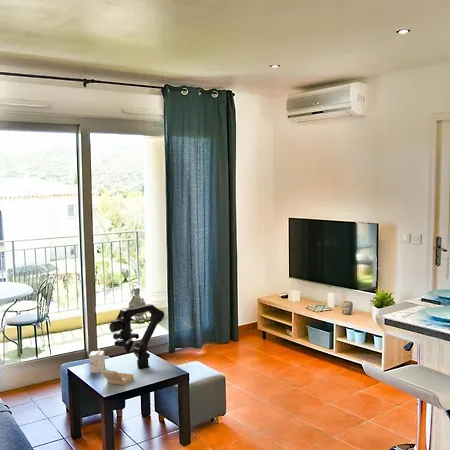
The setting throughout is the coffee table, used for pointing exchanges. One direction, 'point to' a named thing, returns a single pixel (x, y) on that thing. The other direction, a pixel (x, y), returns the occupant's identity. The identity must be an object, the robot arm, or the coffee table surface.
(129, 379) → the mailer
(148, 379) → the coffee table surface
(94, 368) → the ink box
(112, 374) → the lid
